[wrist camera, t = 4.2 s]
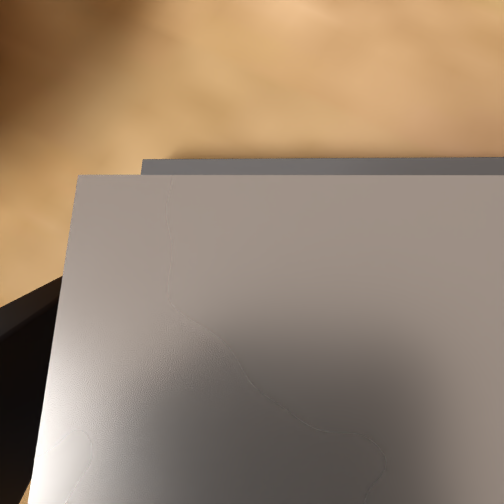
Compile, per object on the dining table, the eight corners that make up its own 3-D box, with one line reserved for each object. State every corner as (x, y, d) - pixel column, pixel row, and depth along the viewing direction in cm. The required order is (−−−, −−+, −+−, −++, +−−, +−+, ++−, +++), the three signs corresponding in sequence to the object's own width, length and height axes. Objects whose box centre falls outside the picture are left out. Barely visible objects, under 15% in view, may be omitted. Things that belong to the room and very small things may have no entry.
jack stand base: (540, 607, 12) (697, 801, 7) (109, 536, 15) (-2, 644, 10) (514, 168, 15) (616, 82, 10) (152, 169, 17) (83, 100, 12)
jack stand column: (368, 414, 13) (631, 858, 2) (256, 403, 13) (-7, 697, 3) (369, 301, 13) (572, 172, 3) (263, 296, 14) (75, 170, 3)
